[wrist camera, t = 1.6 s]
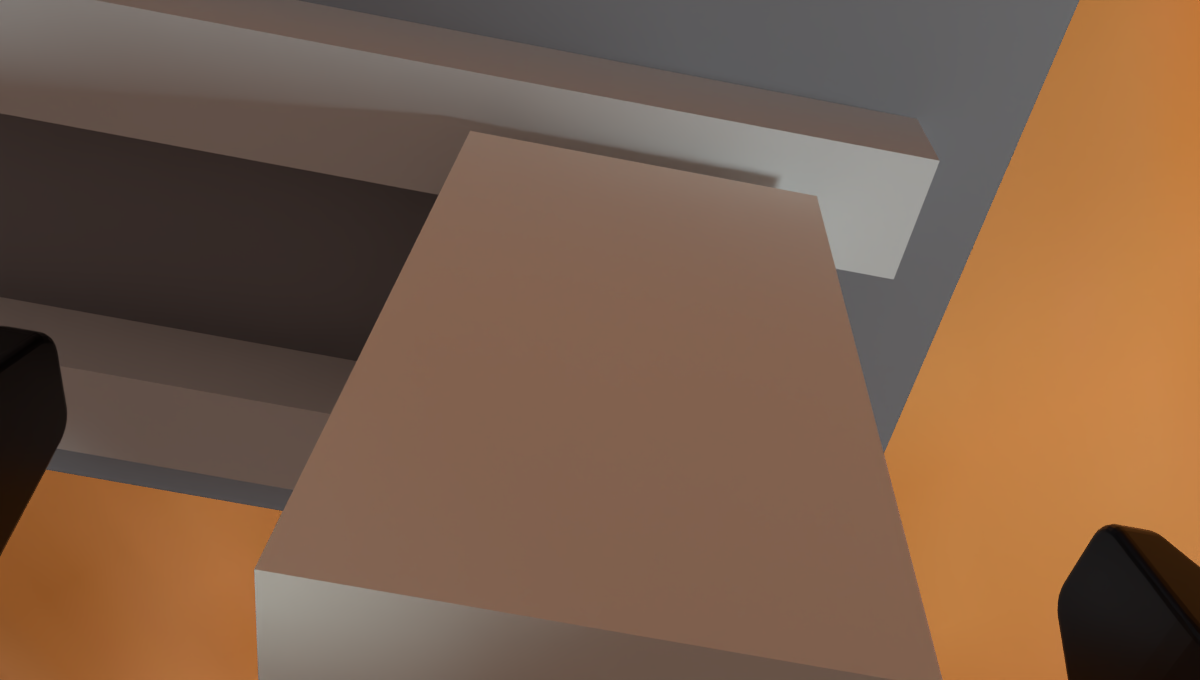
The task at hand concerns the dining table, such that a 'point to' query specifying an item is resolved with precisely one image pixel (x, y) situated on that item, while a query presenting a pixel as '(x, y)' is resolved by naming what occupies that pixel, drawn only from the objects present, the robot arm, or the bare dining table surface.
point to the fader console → (444, 179)
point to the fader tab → (599, 449)
